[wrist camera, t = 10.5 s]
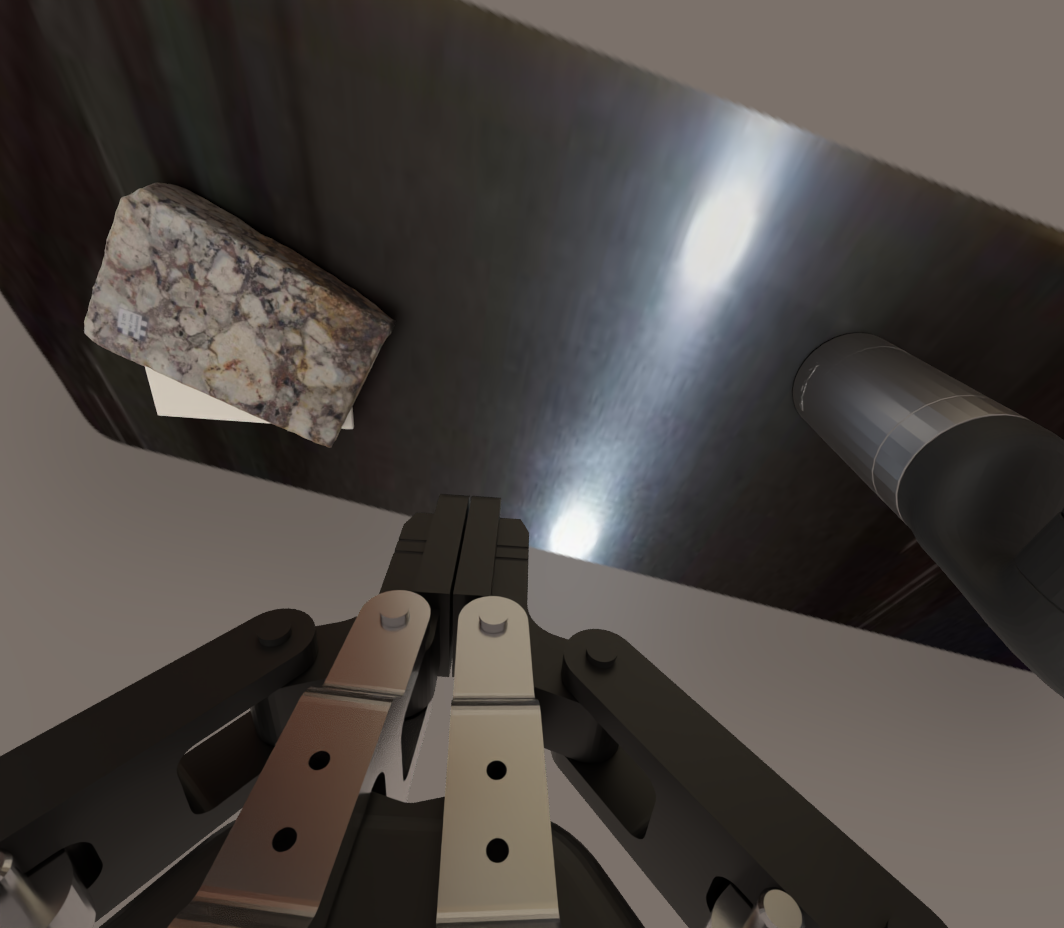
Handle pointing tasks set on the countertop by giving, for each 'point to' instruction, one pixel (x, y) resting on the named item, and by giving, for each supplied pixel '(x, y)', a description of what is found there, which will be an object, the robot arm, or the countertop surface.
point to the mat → (199, 402)
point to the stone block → (232, 313)
